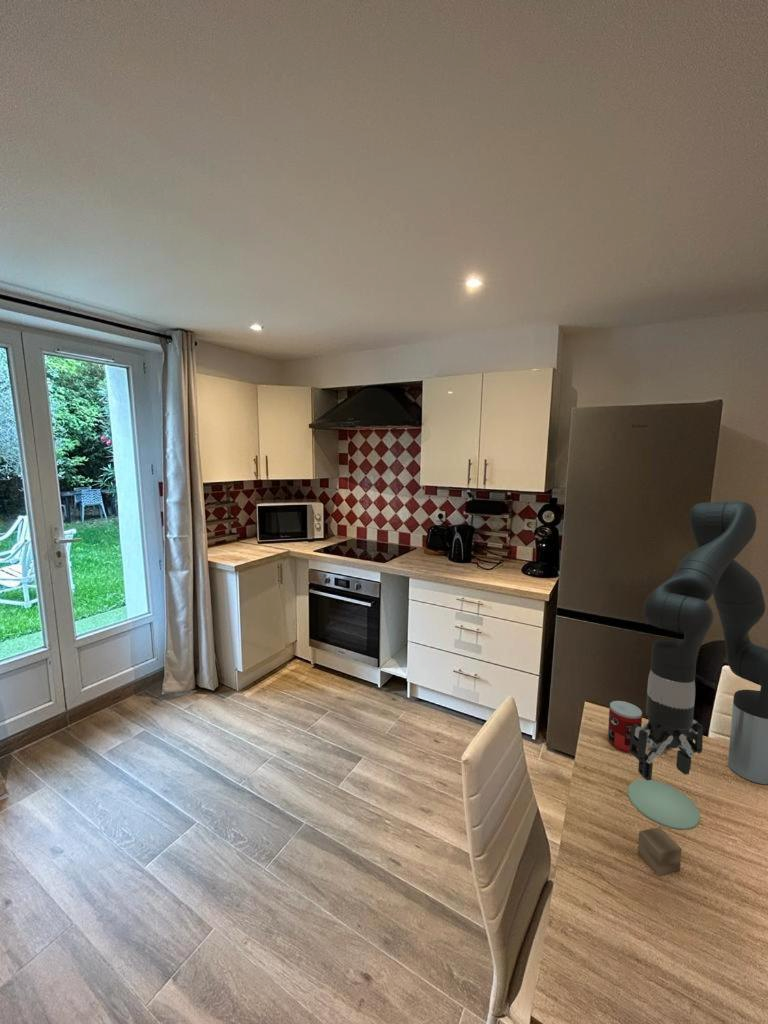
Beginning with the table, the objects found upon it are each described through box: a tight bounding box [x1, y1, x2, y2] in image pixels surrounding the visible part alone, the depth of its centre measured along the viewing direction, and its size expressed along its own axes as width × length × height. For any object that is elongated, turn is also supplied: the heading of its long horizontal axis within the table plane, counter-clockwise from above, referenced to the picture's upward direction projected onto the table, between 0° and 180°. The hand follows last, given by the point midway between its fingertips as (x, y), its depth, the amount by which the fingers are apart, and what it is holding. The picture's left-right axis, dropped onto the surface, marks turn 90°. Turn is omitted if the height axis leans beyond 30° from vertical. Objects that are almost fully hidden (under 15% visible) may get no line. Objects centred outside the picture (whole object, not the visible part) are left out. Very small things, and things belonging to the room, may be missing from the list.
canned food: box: [607, 700, 643, 754], centre depth 118 cm, size 8×8×11 cm
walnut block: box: [637, 826, 682, 877], centre depth 83 cm, size 5×5×5 cm
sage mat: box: [627, 778, 701, 831], centre depth 98 cm, size 14×14×1 cm
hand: (663, 774), depth 82 cm, fingers open, 8 cm apart
